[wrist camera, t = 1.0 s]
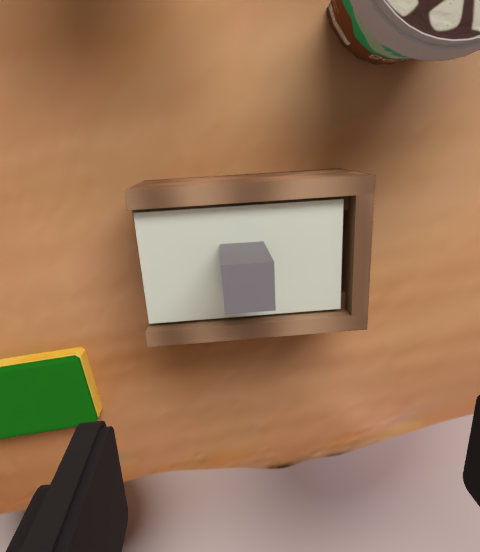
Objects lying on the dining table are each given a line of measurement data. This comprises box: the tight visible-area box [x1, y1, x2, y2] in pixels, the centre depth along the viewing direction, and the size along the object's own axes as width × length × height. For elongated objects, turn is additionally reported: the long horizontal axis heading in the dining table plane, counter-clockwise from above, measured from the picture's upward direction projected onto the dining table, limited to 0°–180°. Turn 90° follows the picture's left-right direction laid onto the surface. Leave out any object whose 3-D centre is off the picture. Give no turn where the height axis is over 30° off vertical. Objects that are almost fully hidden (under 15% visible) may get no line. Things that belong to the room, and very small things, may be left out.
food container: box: [327, 0, 480, 64], centre depth 25 cm, size 12×6×10 cm, turn 107°
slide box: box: [124, 169, 375, 347], centre depth 30 cm, size 16×11×8 cm
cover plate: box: [133, 198, 344, 324], centre depth 25 cm, size 14×8×6 cm, turn 93°
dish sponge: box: [0, 347, 102, 439], centre depth 36 cm, size 7×14×2 cm, turn 98°
